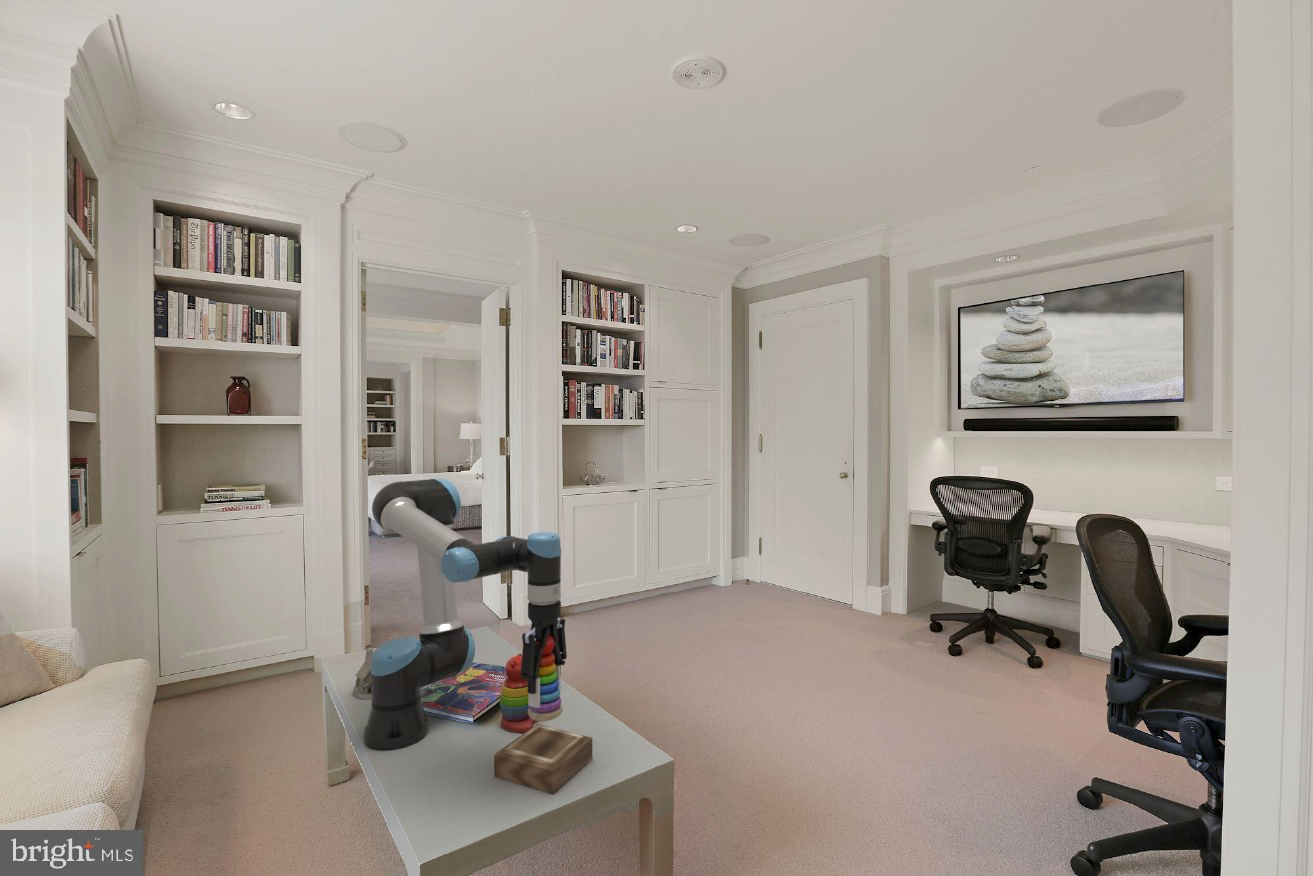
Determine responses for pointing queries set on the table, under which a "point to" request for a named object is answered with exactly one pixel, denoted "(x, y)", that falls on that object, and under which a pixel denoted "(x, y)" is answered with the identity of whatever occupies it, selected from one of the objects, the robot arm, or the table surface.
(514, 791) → the table surface
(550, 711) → the stacking toy
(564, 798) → the table surface
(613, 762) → the table surface
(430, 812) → the table surface
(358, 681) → the ceramic cottage
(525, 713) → the stacking bear
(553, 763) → the plinth
